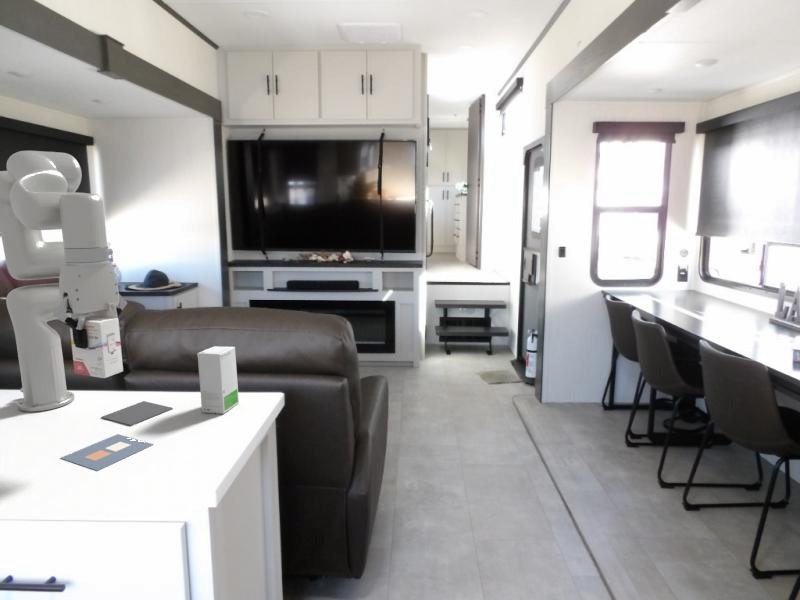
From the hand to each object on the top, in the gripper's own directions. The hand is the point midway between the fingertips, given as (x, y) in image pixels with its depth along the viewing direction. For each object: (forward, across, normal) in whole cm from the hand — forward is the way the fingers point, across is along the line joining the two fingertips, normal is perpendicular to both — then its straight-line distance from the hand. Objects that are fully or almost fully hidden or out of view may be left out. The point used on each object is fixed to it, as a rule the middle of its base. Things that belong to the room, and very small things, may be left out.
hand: (95, 343), depth 109 cm
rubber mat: (+24, -17, -12) cm, 32 cm away
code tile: (+24, 0, +1) cm, 24 cm away
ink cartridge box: (+7, 0, 0) cm, 7 cm away
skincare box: (+24, -29, +4) cm, 38 cm away
